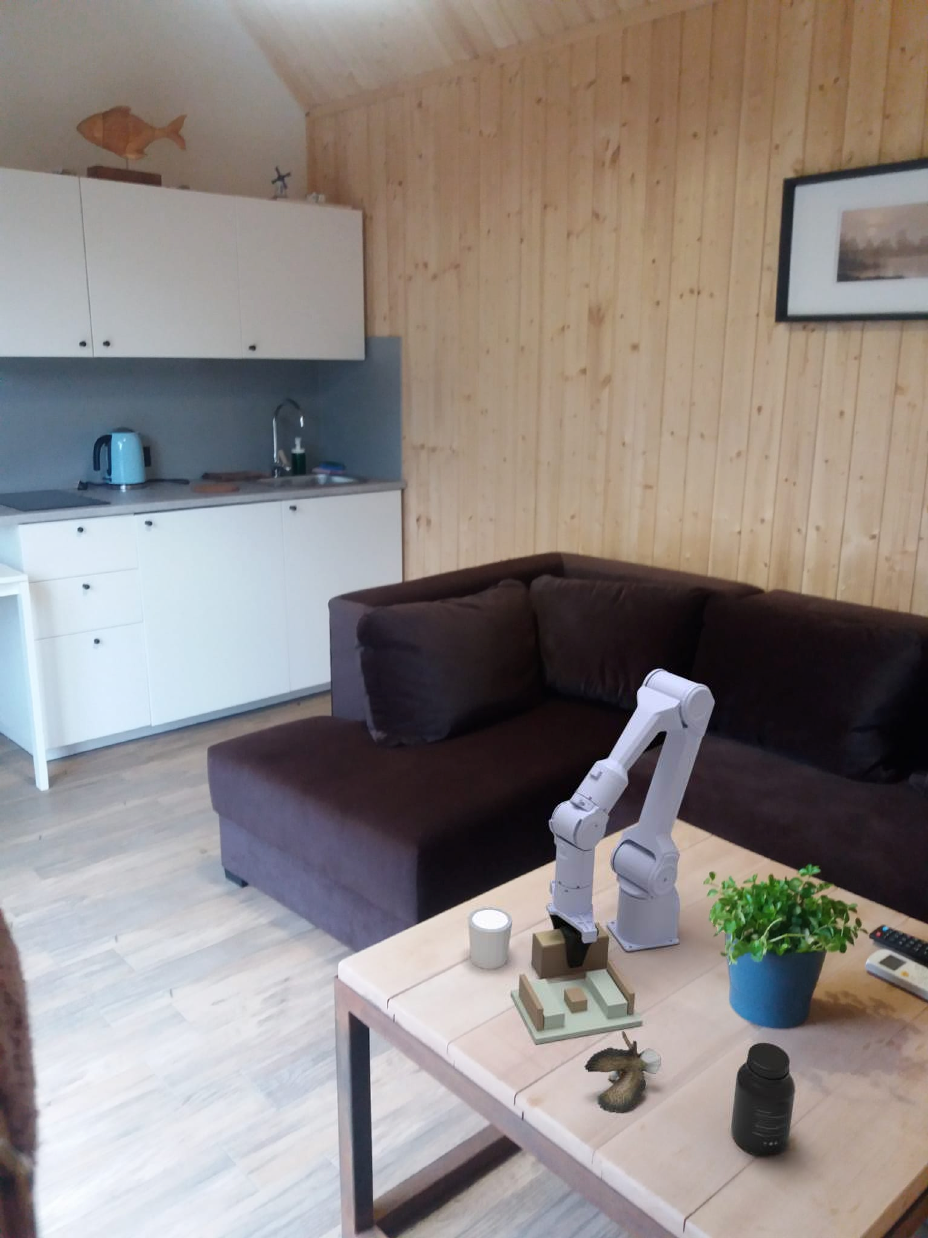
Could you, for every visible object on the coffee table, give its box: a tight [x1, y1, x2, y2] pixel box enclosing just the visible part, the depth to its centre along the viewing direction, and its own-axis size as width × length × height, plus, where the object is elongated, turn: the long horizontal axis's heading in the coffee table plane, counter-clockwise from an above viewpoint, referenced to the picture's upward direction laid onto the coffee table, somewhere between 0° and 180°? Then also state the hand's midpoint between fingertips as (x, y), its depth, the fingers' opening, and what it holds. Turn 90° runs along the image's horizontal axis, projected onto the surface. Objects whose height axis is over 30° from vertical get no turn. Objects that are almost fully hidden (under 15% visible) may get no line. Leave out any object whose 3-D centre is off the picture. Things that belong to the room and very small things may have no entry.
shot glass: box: [467, 907, 513, 970], centre depth 156 cm, size 7×7×7 cm
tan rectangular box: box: [530, 922, 610, 980], centre depth 155 cm, size 11×4×6 cm, turn 107°
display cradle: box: [510, 959, 643, 1045], centre depth 145 cm, size 16×11×4 cm
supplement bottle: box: [730, 1042, 796, 1158], centre depth 122 cm, size 7×7×12 cm
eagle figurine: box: [583, 1030, 662, 1114], centre depth 130 cm, size 8×7×9 cm
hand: (569, 957), depth 155 cm, fingers closed on tan rectangular box, 4 cm apart
